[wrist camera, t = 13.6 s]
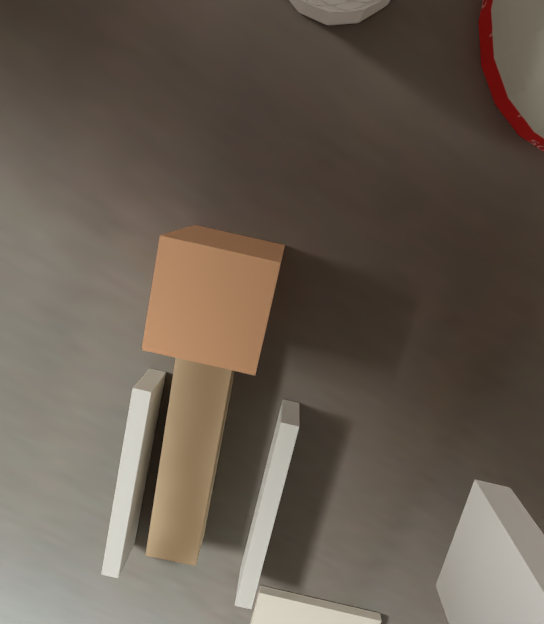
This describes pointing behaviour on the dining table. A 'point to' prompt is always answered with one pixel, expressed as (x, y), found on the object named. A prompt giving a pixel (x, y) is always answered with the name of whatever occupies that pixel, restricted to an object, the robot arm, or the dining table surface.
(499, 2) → the white chicken figurine
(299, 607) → the coaster
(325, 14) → the white cup
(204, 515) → the rod
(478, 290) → the dining table surface
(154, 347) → the block
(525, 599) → the robot arm
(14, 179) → the dining table surface
